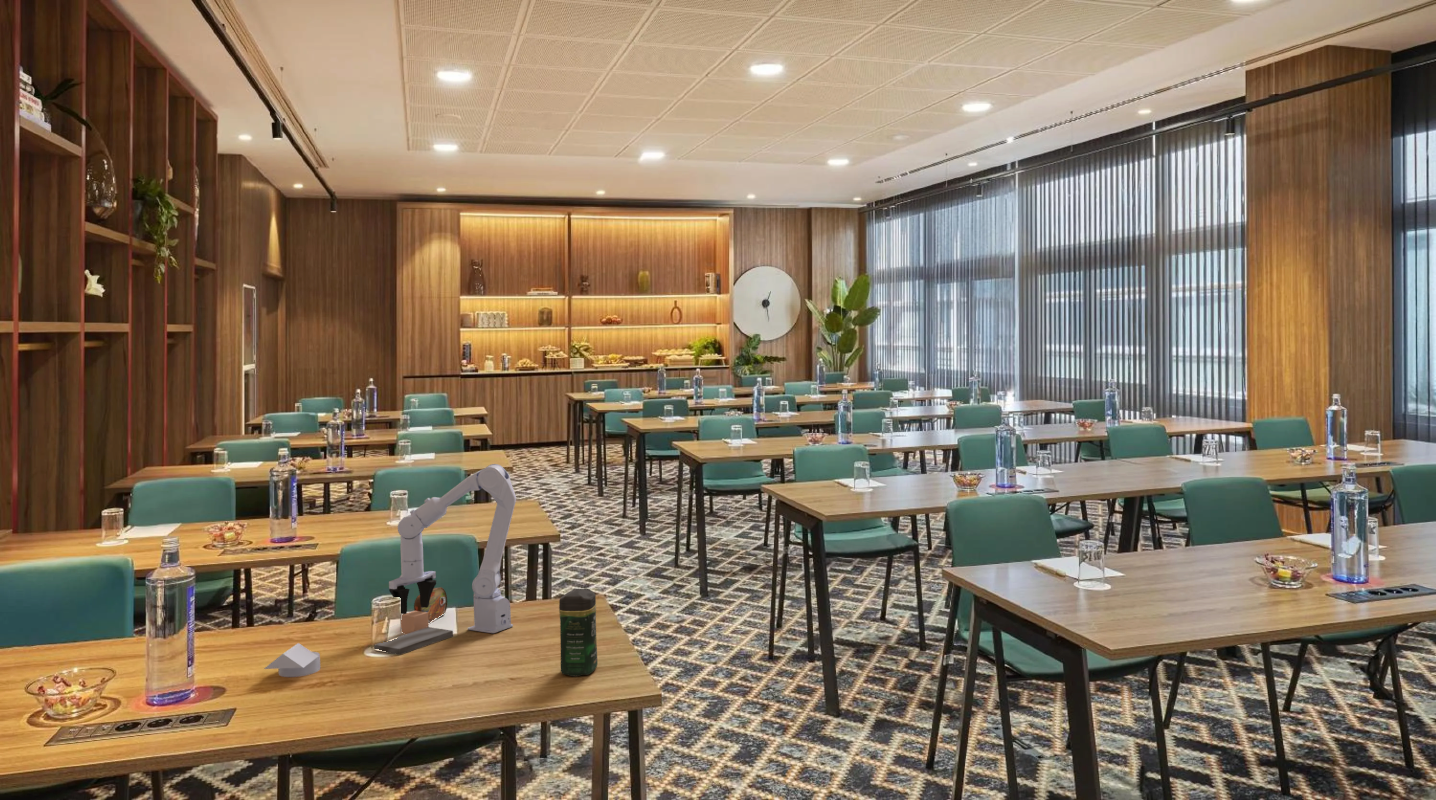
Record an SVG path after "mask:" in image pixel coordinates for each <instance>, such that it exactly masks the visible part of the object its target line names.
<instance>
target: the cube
mask: <svg viewBox="0 0 1436 800" xmlns="http://www.w3.org/2000/svg"><path fill="white" fill-rule="evenodd" d="M401 615H402V620H401V619H400V629H401V628H402V632H403V633H405V634H408V633H411V632H414V631H417V630H421V629H424V628H427V627H430V626H429V625H430V624H428V612H420V611H414V610H413V611H410V612H409V611H408V612H407V613H406V614H401ZM403 633H402V634H403ZM405 634H404V635H405Z"/></svg>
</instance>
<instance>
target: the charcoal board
mask: <svg viewBox="0 0 1436 800" xmlns="http://www.w3.org/2000/svg"><path fill="white" fill-rule="evenodd" d="M397 637H398V638H397V639H394V640H392V641H388V642H384V641H382V642H383V643H381V642H378V643H375V644H374V645H373V649H379V650H382V651H386V652H388V653H387V654H393V655H398V656H401V655H404V654H406V653H409V652H411V651H412V652H413V651H415V650H417V649H420V648H421V649H422V648H424V647H426V646H430V645H432V644H434V643H438V642H441V641H444V640H446V639H450V638H452V637H454V630H453V629H452V630H450V629H443V628H438V627H431V626H429V627H427V628H424V629H421V630H417V631H414V632H411V633H408V634H402V635H399V636H397ZM386 652H385V653H386Z"/></svg>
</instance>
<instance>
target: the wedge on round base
mask: <svg viewBox="0 0 1436 800" xmlns="http://www.w3.org/2000/svg"><path fill="white" fill-rule="evenodd" d="M320 655H321V654H320V652H318V651H312V650H310V649H308V648H307V647H305V646H303V645H302V644H300V643H299V642H298V643H296V644H295V645H292V647H291V648H289V649H288V650H286V651H285V652H284V653H283V652H282V654H281V655H279V656H278V657H277V658H275V659H274V660H273V661H272V662H270V663H269V664H268V665H267V666H265V667H263V670H264V669H265V670H270V669H271V670H272V669H273V670H274V669H278V676H280V677H284V678H296V677H297V678H298V677H304V676H308V675H313V674H315V673H317V672H319V671H320V670H321V656H320Z"/></svg>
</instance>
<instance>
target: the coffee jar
mask: <svg viewBox="0 0 1436 800" xmlns="http://www.w3.org/2000/svg"><path fill="white" fill-rule="evenodd" d="M558 605H559V606H558V609H559V610H558V612H559V626H560V627H559V629H560V631H559V632H560V638H559V639H560V672H561V674H562V675H565V676H566V675H567V676H570V677H579V676H584V675H588V676H589V675H590V674H592V673H593V672H594V671H595V670H596V668H597V667H598V647H597V646H598V645H597V643H598V642H597V600H596V593H595V592H594V591H592V590H591V588H573V589H572V590H570V591H567V592H566V593H564V595H562V596H561V597H560V598H559V604H558Z"/></svg>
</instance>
